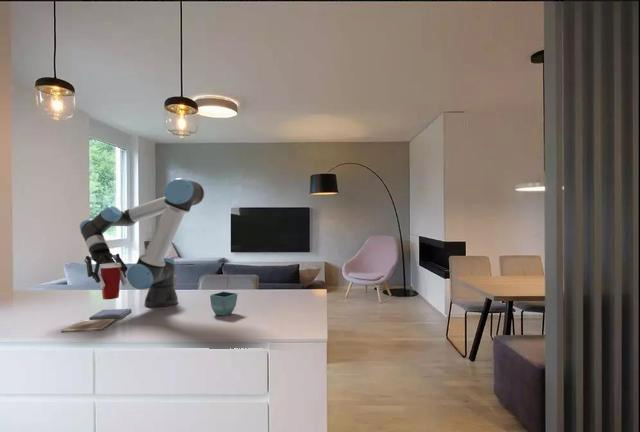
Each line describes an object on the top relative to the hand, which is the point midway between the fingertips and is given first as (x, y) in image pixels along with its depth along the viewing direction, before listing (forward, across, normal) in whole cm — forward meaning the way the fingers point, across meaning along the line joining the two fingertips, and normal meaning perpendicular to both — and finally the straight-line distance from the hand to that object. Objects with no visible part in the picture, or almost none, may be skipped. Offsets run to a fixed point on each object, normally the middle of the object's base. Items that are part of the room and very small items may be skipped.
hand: (114, 285), depth 146 cm
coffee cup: (+2, 0, -6) cm, 7 cm away
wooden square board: (+13, +11, -6) cm, 18 cm away
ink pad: (+7, 0, -12) cm, 14 cm away
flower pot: (+34, -31, +14) cm, 48 cm away
